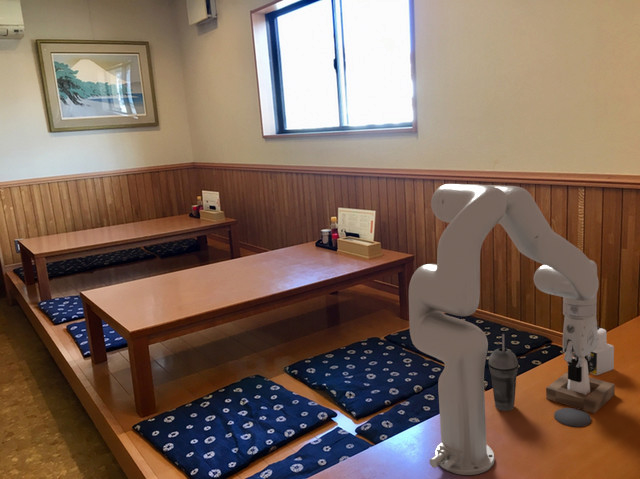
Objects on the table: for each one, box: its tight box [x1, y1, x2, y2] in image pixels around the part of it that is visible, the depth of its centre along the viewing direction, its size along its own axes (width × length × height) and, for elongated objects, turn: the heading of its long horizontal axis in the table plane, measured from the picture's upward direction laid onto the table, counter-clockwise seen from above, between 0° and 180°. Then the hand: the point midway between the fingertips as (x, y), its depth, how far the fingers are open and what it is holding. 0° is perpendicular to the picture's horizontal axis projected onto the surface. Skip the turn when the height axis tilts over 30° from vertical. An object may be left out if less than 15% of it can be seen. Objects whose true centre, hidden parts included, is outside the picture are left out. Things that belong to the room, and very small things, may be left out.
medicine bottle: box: [588, 326, 615, 376], centre depth 154 cm, size 7×7×12 cm
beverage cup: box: [487, 333, 520, 412], centre depth 137 cm, size 7×7×20 cm
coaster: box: [554, 407, 592, 428], centre depth 131 cm, size 8×8×1 cm
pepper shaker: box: [567, 352, 590, 395], centre depth 139 cm, size 5×5×11 cm
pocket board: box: [545, 371, 616, 414], centre depth 140 cm, size 12×12×3 cm
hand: (578, 376), depth 139 cm, fingers closed on pepper shaker, 3 cm apart
